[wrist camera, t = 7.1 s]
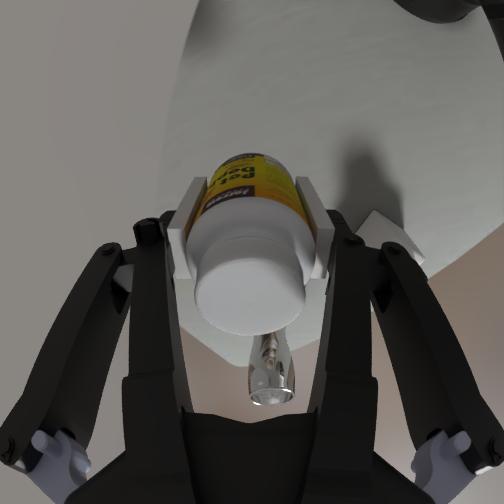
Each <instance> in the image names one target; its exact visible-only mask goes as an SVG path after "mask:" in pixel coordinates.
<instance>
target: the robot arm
mask: <svg viewBox="0 0 504 504" xmlns="http://www.w3.org/2000/svg"><path fill="white" fill-rule="evenodd" d="M394 1H395V2H396V3H397V4H398V5H400V6H401V7H402V8H404V9H405V10H407V11H408V12H410V13H411V14H413V15H415V16H417V17H419V18H421V19H423V20H426V21H429V22H433V23H440V24H443V23H451V22H456V21H459V20H461V19H463V18H464V17H465V16H466V15H467V14H468V13H469V12H471V11H472V10H474V9H475V8H477V7H478V6H482V8H483V10H484V12H485V14H486V16H487V19H488V21H489V23H490V25H491V28H492V30H493V33H494V35H495V38H496V41H497V43H498V46H499V49H500V52H501V55H502V58H503V61H504V0H394ZM295 188H296V190H297V193H298V196H299V199H300V201H301V204H302V207H303V210H304V213H305V215H306V218H307V221H308V224H309V227H310V230H311V233H312V235H313V239H314V243H315V248H316V260H315V266H314V269H313V272H312V274H311V276H310V279H316V278H326V273H327V269H328V272H329V279H328V284H327V288H326V292H325V295H326V302H325V310H324V318H323V325H322V332H321V339H320V346H319V353H318V358H317V364H316V370H315V375H314V381H313V386H312V391H311V397H310V401H309V406H308V410H307V413H302V414H287V415H283V416H279V417H275V418H272V419H267V420H263V421H259V422H255V423H244V422H240V421H236V420H232V419H228V418H225V417H221V416H217V415H214V414H202V413H194V410H193V406H192V402H191V397H190V391H189V386H188V381H187V375H186V369H185V362H184V356H183V350H182V343H181V336H180V328H179V320H178V312H177V303H176V294H175V284H174V279H173V274H174V271H175V272H176V277H177V278H181V279H192V277H191V275H190V273H189V270H188V267H187V263H186V253H185V252H186V244H187V240H188V237H189V233H190V231H191V228H192V226H193V223H194V221H195V218H196V216H197V213H198V211H199V208H200V206H201V203H202V201H203V198H204V195H205V193H206V191H207V189H208V187H207V177H195V178H194V180H193V182H192V183H191V185H190V187H189V189H188V190H187V192H186V194H185V196H184V198H183V199H182V201H181V203H180V205H179V207H178V209H177V210H175V211H166V212H165V213H164V214H162V215H161V216H160V218H159V219H158V218H146V219H143V220H141V221H138V222H137V223H136V224H135V225H134V226H133V230H134V234H135V238H136V242H137V246H136V247H134V248H131V249H126V250H122V248H121V246H120V244H118V243H114V242H112V243H107V244H104V245H103V246H101V247H99V248H98V249H97V251H96V252H95V253H94V255H93V256H92V258H91V259H90V261H89V263H88V264H87V266H86V267H85V269H84V271H83V272H82V274H81V275H80V277H79V278H78V280H77V282H76V283H75V285H74V287H73V289H72V290H71V292H70V294H69V296H68V297H67V299H66V301H65V303H64V305H63V306H62V308H61V310H60V312H59V314H58V316H57V318H56V320H55V321H54V323H53V325H52V327H51V329H50V331H49V333H48V335H47V337H46V339H45V342H44V344H43V346H42V348H41V350H40V352H39V355H38V357H37V359H36V361H35V364H34V367H33V369H32V371H31V374H30V376H29V378H28V381H27V384H26V386H25V389H24V392H23V395H22V396H21V397H20V399H19V400H18V402H17V403H16V404H15V406H14V407H13V409H12V410H11V412H10V413H9V415H8V416H7V418H6V420H5V421H4V423H3V424H2V426H1V427H0V461H1V462H3V463H4V464H5V465H7V466H9V467H11V468H13V469H15V470H17V471H19V472H22V473H24V474H26V475H27V476H28V477H29V478H30V479H31V480H32V481H33V482H34V483H35V484H36V485H37V486H38V487H39V488H40V489H41V490H42V491H43V492H44V493H45V494H46V495H47V496H48V497H49V498H50V499H51V500H52V501H53V502H55V503H56V504H448V503H449V502H450V501H451V500H452V499H454V498H455V497H456V496H457V495H458V494H459V493H460V492H461V491H462V490H463V489H464V488H465V487H466V486H467V485H468V484H469V483H470V482H471V481H472V480H473V479H474V478H475V477H476V476H478V475H480V474H482V473H484V472H487V471H489V470H491V469H493V468H495V467H497V466H499V465H500V464H501V463H502V462H503V461H504V430H503V428H502V426H501V425H500V423H499V422H498V420H497V419H496V417H495V416H494V414H493V412H492V411H491V410H490V408H489V407H488V405H487V404H486V402H485V401H484V399H483V398H482V397H481V395H480V392H479V390H478V387H477V384H476V381H475V379H474V376H473V374H472V371H471V369H470V367H469V364H468V362H467V359H466V357H465V355H464V352H463V350H462V348H461V346H460V344H459V342H458V339H457V337H456V335H455V333H454V331H453V329H452V327H451V326H450V323H449V321H448V319H447V317H446V315H445V314H444V312H443V310H442V308H441V306H440V304H439V303H438V301H437V299H436V297H435V295H434V293H433V292H432V290H431V288H430V287H429V285H428V283H427V281H426V280H425V278H424V276H423V275H422V273H421V272H420V270H419V268H418V267H417V265H416V264H415V262H414V260H413V259H412V257H411V256H410V254H409V253H408V251H407V250H406V249H405V248H404V247H403V246H402V245H400V244H399V243H396V242H391V241H388V242H384V243H382V245H381V249H377V248H372V247H368V246H365V242H364V240H363V239H362V238H361V237H360V236H358V235H356V234H353V233H352V232H351V230H350V228H349V226H348V225H347V224H346V221H345V220H344V218H343V216H342V215H341V214H340V213H339V212H338V211H336V210H325V208H324V206H323V204H322V202H321V200H320V198H319V197H318V195H317V193H316V191H315V189H314V187H313V186H312V184H311V182H310V180H309V178H308V177H297V176H296V184H295ZM370 300H371V303H372V305H373V308H374V311H375V314H376V316H377V320H378V322H379V325H380V328H381V331H382V334H383V337H384V340H385V343H386V347H387V350H388V353H389V356H390V360H391V363H392V367H393V370H394V373H395V377H396V381H397V384H398V388H399V392H400V395H401V400H402V404H403V408H404V412H405V416H406V421H407V425H408V429H409V433H410V436H411V439H412V442H413V444H414V447H415V449H416V451H417V452H416V453H415V456H414V460H413V461H412V463H411V469H412V471H413V472H414V473H416V479H415V482H414V483H413V482H411V481H410V480H409V479H408V478H406V477H405V476H404V475H402V474H401V473H400V472H399V471H397V470H396V469H395V468H394V467H393V466H391V465H390V464H389V463H388V462H386V461H385V460H384V459H383V458H382V457H380V456H379V455H378V454H377V453H376V452H374V451H373V450H374V440H375V431H376V418H377V401H378V381H377V379H376V378H375V377H372V373H371V368H372V367H371V366H372V336H371V335H372V332H371V305H370ZM130 305H131V306H130ZM129 308H130V325H129V374H128V376H127V377H124V378H123V380H122V412H123V428H124V440H125V451H124V452H123V453H121V454H120V455H119V456H118V457H117V458H115V459H114V460H113V461H112V462H110V463H109V464H108V465H107V466H106V467H104V468H103V469H102V470H101V471H99V472H98V473H97V474H96V475H94V476H93V477H92V478H90V479H89V480H88V481H87V479H86V472H87V471H89V470H90V468H91V462H90V460H89V459H88V456H87V453H86V449H87V447H88V444H89V442H90V439H91V436H92V433H93V429H94V425H95V422H96V417H97V413H98V409H99V405H100V401H101V397H102V392H103V389H104V386H105V382H106V378H107V375H108V371H109V368H110V365H111V361H112V358H113V355H114V352H115V348H116V345H117V342H118V339H119V336H120V333H121V330H122V327H123V324H124V321H125V319H126V315H127V313H128V310H129Z"/></svg>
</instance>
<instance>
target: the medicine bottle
mask: <svg viewBox="0 0 504 504" xmlns="http://www.w3.org/2000/svg"><path fill="white" fill-rule="evenodd" d="M355 234H356V235H358V236H360V237H361V238H362V239H363V240H364V242H365V246H368V247H372V248H377V249H381V245H382V243H384V242H388V241H391V242H396V243H399V244H400V245H402V246H403V247H404V248H405V249H406V250H407V251H408V253H409V254H410V256H411V257H412V259H413V260H414V262H415V264H416V265H417V267H418V268H419V270H420V272H421V273H422V275H423V276H424V278H425V280H426V281H427V283H428V279H427V276H426V275H425V273H424V272H423V270H422V269H421V267H420V265H421V264H422V262H423V261H424V260H425V257H424V256H423V254H422V253H421V252H420V250H419V249H418V248H417V246H416V245H415V244H414V242H413V241H412V240H411V238H410V237H409V236H408V235H407V233H406V232H405V231H404V230H403V229H401V228H400V227H399V226H397V225H396V224H394V223H393V222H392V221H390V220H389V219H387V218H386V217H384V216H383V215H382V214H380V213H379V212H377V211H376V210H373V211H372V212H371V214H370V215H369V216H368V218H367V219H366V220H365V222H364V223H363V224H362V225H361V227H360V228H359V229H358V231H357V232H356V233H355Z"/></svg>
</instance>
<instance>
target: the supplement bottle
mask: <svg viewBox="0 0 504 504" xmlns="http://www.w3.org/2000/svg"><path fill="white" fill-rule="evenodd" d="M185 253H186V263H187V267H188V270H189V273H190V275H191V277H192V279H193V280H194V282H195V283H196V285H195V291H194V297H195V303H196V306H197V308H198V310H199V312H200V313H201V315H202V316H203V317H204V318H205V319H206V320H207V321H208V322H209V323H211V324H212V325H213V326H215V327H217V328H219V329H221V330H223V331H226V332H229V333H232V334H237V335H246V336H247V335H262V334H267V333H271V332H274V331H277V330H279V329H281V328H283V327H285V326H287V325H288V324H290V323H291V322H292V321H293V320H294V319H295V318H296V317H297V316H298V315H299V313H300V312H301V310H302V308H303V306H304V302H305V284H306V283H307V282H308V280H309V278H310V276H311V274H312V272H313V269H314V266H315V260H316V248H315V243H314V239H313V235H312V233H311V230H310V227H309V224H308V221H307V218H306V215H305V213H304V210H303V207H302V204H301V201H300V199H299V196H298V193H297V190H296V188H295V185H294V182H293V180H292V177H291V175H290V174H289V172H288V171H287V169H286V168H285V167H284V166H283V165H282V164H281V163H280V162H279V161H277V160H276V159H274V158H272V157H270V156H267V155H264V154H260V153H244V154H240V155H237V156H234V157H232V158H230V159H228V160H227V161H225V162H224V163H223V164H222V165H221V166H220V167H219V168H218V169H217V170H216V172H215V174H214V175H213V177H212V179H211V181H210V184H209V186H208V189H207V191H206V193H205V195H204V198H203V201H202V203H201V206H200V208H199V211H198V213H197V216H196V218H195V221H194V223H193V226H192V228H191V231H190V233H189V237H188V240H187V244H186V252H185Z"/></svg>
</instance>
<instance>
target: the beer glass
mask: <svg viewBox="0 0 504 504" xmlns="http://www.w3.org/2000/svg"><path fill="white" fill-rule="evenodd" d="M285 329H286V326H285V327H283V328H281V329H279V330H277V331H274V332H271V333H267V334H262V335H254V340H253V345H252V350H251V354H250V358H249V364H248V391H249V400H250V401H251V402H252V403H254V404H257V405H262V406H278V405H283V404H286V403H289V402H291V401H292V400H293V399H294V398H295V371H294V364H293V360H292V356H291V353H290V349H289V346H288V343H287V340H286V334H285Z"/></svg>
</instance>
